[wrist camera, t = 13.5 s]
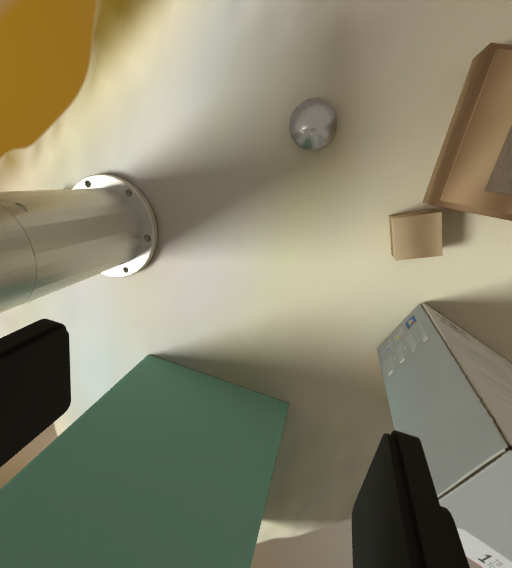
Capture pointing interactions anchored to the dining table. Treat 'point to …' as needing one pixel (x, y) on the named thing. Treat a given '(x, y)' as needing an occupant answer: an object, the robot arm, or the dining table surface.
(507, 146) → the block
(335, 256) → the dining table surface
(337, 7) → the dining table surface
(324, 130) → the chrome dome
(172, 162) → the dining table surface
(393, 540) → the robot arm
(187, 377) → the box
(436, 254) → the oak offcut
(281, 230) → the dining table surface
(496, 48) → the tray
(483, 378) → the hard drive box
